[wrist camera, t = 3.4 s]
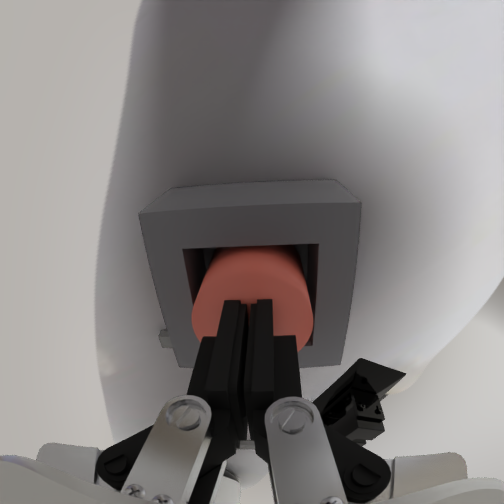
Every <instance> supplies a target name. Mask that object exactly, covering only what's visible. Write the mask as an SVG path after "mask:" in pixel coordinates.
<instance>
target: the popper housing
mask: <svg viewBox="0 0 504 504" xmlns="http://www.w3.org/2000/svg"><path fill="white" fill-rule="evenodd" d="M138 214H139V219H140V224H141V229H142V234H143V239H144V243H145V248H146V252H147V257H148V261H149V265H150V269H151V273H152V277H153V281H154V285H155V289H156V293H157V296H158V300H159V304H160V307H161V311H162V314H163V318H164V321H165V324H166V328H167V331H168V334H169V337H170V341H171V344H172V347H173V350H174V353H175V356H176V359H177V362H178V365H179V367H184V368H194V365H195V362H196V358H197V354H198V351H199V347H200V341H199V340H198V338H197V337H196V335H195V333H194V330H193V327H192V309H193V306H194V303H195V301H196V298H197V295H198V292H199V290H200V287H201V284H202V282H203V279H204V276H205V274H206V271H207V268H208V266H209V263H210V261H211V258H212V255H213V253H214V251H215V249H216V248H217V247H238V246H263V245H289V244H293V246H294V247H295V248H296V250H297V252H298V254H299V256H300V259H301V262H302V267H303V271H304V276H305V280H306V285H307V290H308V294H309V299H310V304H311V309H312V314H313V329H312V333H311V336H310V338H309V339H308V341H307V343H306V344H305V345H304V347H303V348H302V349H301V350H300V351H299V352H298V362H299V368H307V367H322V366H333V365H340V364H341V359H342V354H343V349H344V344H345V339H346V333H347V327H348V321H349V315H350V309H351V302H352V295H353V288H354V280H355V272H356V263H357V253H358V243H359V231H360V217H361V202H360V201H359V200H358V199H357V198H356V197H355V196H354V195H353V194H351V193H350V192H349V191H348V190H347V189H346V188H345V187H344V186H342V185H341V184H340V183H339V182H338V181H337V180H289V181H263V182H244V183H228V184H214V185H202V186H191V187H180V188H171V189H169V190H168V191H167V192H165V193H164V194H163V195H162V196H160V197H159V198H158V199H156V200H155V201H154V202H152V203H151V204H150V205H149V206H147V207H146V208H145V209H143V210H142V211H141V212H140V213H138Z"/></svg>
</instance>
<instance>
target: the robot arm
mask: <svg viewBox="0 0 504 504" xmlns="http://www.w3.org/2000/svg"><path fill="white" fill-rule="evenodd" d="M248 425H249V431H250V438H251V441H254V443H255V450H256V454H257V455H258V456H259V457H260V458H262V459H263V460H264V461H265V462H267V463H268V470H269V475H270V482H271V488H272V494H273V500H274V504H504V482H503V481H501V480H498V479H494V478H471V479H468V478H467V466H466V462H465V460H464V459H463V457H462V456H461V455H459V454H457V453H450V452H448V453H441V454H431V455H421V456H420V455H419V456H406V457H405V456H403V457H395V458H394V459H382V458H381V457H380V456H378V455H376V454H374V453H372V452H371V451H369V450H367V449H365V448H363V447H362V446H360V445H358V444H357V443H355V442H353V441H351V440H350V439H348V438H346V437H345V436H343V435H341V434H340V433H338V432H336V431H335V430H333V429H332V428H330V427H328V426H327V425H325V424H324V423H323V422H322V419H321V416H320V413H319V411H318V409H317V407H316V406H315V405H314V404H313V403H312V402H311V401H309V400H306V399H304V398H302V393H301V382H300V372H299V362H298V352H297V343H296V336H295V335H283V336H274V334H273V300H272V299H257V304H251V308H250V320H249V324H248V313H247V304H241V301H240V300H225V301H224V304H223V309H222V313H221V317H220V322H219V326H218V331H217V335H216V336H203V338H202V340H201V343H200V347H199V351H198V354H197V358H196V362H195V365H194V369H193V373H192V376H191V380H190V384H189V388H188V391H187V395H183V396H178V397H176V398H173V399H171V400H170V401H169V402H167V403H166V404H165V406H164V407H163V408H162V410H161V412H160V414H159V416H158V418H157V420H156V422H155V424H154V425H152V426H150V427H148V428H146V429H145V430H143V431H141V432H139V433H137V434H135V435H133V436H131V437H129V438H127V439H125V440H123V441H121V442H119V443H117V444H115V445H113V446H111V447H109V448H107V449H106V450H99V449H98V448H94V447H83V446H74V445H66V444H58V443H47V444H45V445H43V446H42V447H41V448H40V450H39V452H38V455H37V459H36V460H33V459H30V458H26V457H22V456H16V455H3V456H0V504H214V502H215V499H216V496H217V493H218V490H219V487H220V484H221V480H222V477H223V474H224V471H225V467H226V464H227V459H228V458H229V457H231V456H232V455H234V454H235V453H236V448H240V441H246V439H247V426H248Z"/></svg>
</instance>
